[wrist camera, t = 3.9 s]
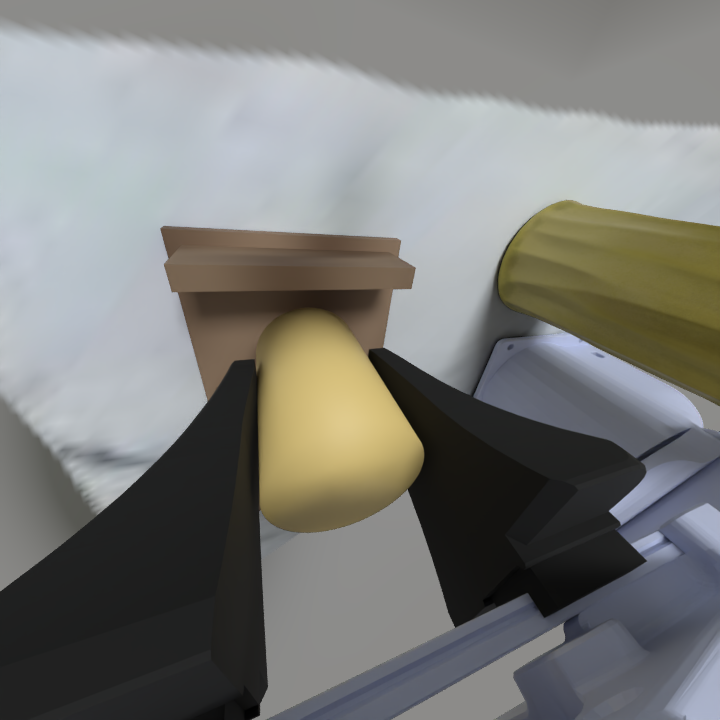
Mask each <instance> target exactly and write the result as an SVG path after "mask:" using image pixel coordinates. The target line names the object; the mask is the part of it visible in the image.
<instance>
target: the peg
mask: <svg viewBox="0 0 720 720" xmlns="http://www.w3.org/2000/svg"><path fill="white" fill-rule="evenodd" d="M256 372H257V411H258V449H259V488H260V508H261V511H262V514H263V515H264V517H265V518H266V519H267V520H268V521H269V522H270V523H271V524H273V525H274V526H276V527H278V528H281V529H283V530H287V531H292V532H301V533H304V532H305V533H311V532H322V531H328V530H333V529H337V528H341V527H345V526H348V525H351V524H353V523H356V522H359V521H361V520H363V519H365V518H368V517H369V516H372V515H373V514H375V513H377V512H379V511H380V510H382V509H384V508H385V507H387V506H388V505H390V504H391V503H393V502H394V501H395V500H396V499H398V498H399V497H400V496H401V495H402V494H403V493H404V492H405V491H406V490H407V489H408V488H409V487H410V486H411V485H412V483H413V482H414V481H415V479H416V478H417V476H418V474H419V473H420V470H421V468H422V465H423V462H424V448H423V446H422V443H421V441H420V440H419V438H418V437H417V435H416V433H415V432H414V430H413V429H412V427H411V425H410V424H409V422H408V421H407V419H406V417H405V416H404V414H403V413H402V411H401V410H400V408H399V406H398V405H397V403H396V402H395V400H394V398H393V397H392V395H391V394H390V392H389V390H388V389H387V387H386V386H385V384H384V382H383V381H382V379H381V378H380V376H379V374H378V373H377V371H376V370H375V368H374V366H373V365H372V363H371V362H370V360H369V358H368V357H367V355H366V354H365V352H364V350H363V349H362V347H361V346H360V344H359V342H358V341H357V339H356V338H355V336H354V334H353V333H352V331H351V330H350V328H349V327H348V325H347V324H346V323H345V322H344V320H342V319H341V318H340V317H339V316H337V315H336V314H334V313H332V312H330V311H327V310H324V309H319V308H300V309H295V310H292V311H289V312H286V313H284V314H282V315H280V316H279V317H277V318H276V319H274V320H273V321H272V322H271V323H270V324H269V325H268V326H267V327H266V328H265V329H264V331H263V332H262V334H261V336H260V338H259V340H258V343H257V348H256Z"/></svg>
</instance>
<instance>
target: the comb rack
mask: <svg viewBox="0 0 720 720" xmlns="http://www.w3.org/2000/svg"><path fill="white" fill-rule="evenodd" d="M160 229H161V233H162V236H163V240H164V244H165V247H166V251H167V254H168V258H169V259H168V260H167V261H166V263H165V264H164V267H165V270H166V273H167V277H168V280H169V284H170V287H171V291H172V292H178V294H179V298H180V302H181V305H182V309H183V312H184V316H185V320H186V323H187V327H188V330H189V334H190V338H191V341H192V345H193V349H194V352H195V356H196V359H197V363H198V367H199V370H200V374H201V378H202V381H203V385H204V388H205V392H206V396H207V399H208V401H209V399H210V398H211V396H212V395H213V393H214V392H215V390H216V389H217V388H218V386H219V384H220V383H221V381H222V380H223V378H224V376H225V375H226V373H227V371H228V369H229V367H230V366H231V364H232V363H233V362H234V361H237V360H248V359H255V366H256V348H257V343H258V340H259V338H260V336H261V334H262V332H263V331H264V329H265V328H266V327H267V326H268V325H269V324H270V323H271V322H272V321H273V320H274V319H276V318H277V317H279V316H280V315H282V314H284V313H286V312H289V311H292V310H295V309H300V308H319V309H324V310H327V311H330V312H332V313H334V314H336V315H337V316H339V317H340V318H341V319H342V320H344V322H345V323H346V324H347V325H348V327H349V328H350V330H351V331H352V333H353V334H354V336H355V338H356V339H357V341H358V342H359V344H360V346H361V347H362V349H363V350H364V352H365V354H366V355H367V357H368V353H369V349H376V348H383V344H384V338H385V332H386V327H387V321H388V315H389V309H390V303H391V297H392V291H393V289H411V288H412V283H413V279H414V274H415V269H416V268H415V267H413V266H412V265H410V264H408V263H407V262H405V261H403V260H401V259H400V258H398V256H399V250H400V244H401V240H399V239H397V238H381V237H362V236H343V235H324V234H305V233H286V232H267V231H248V230H229V229H210V228H190V227H171V226H163V227H162V228H160ZM256 374H257V372H256ZM260 510H261V508H260V488H259V511H260Z"/></svg>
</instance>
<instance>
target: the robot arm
mask: <svg viewBox="0 0 720 720" xmlns="http://www.w3.org/2000/svg"><path fill="white" fill-rule="evenodd" d="M368 358H369V360H370V362H371V363H372V365H373V366H374V368H375V370H376V371H377V373H378V374H379V376H380V378H381V379H382V381H383V382H384V384H385V386H386V387H387V389H388V390H389V392H390V394H391V395H392V397H393V398H394V400H395V402H396V403H397V405H398V406H399V408H400V410H401V411H402V413H403V414H404V416H405V417H406V419H407V421H408V422H409V424H410V425H411V427H412V429H413V430H414V432H415V433H416V435H417V437H418V438H419V440H420V441H421V443H422V446H423V448H424V462H423V465H422V468H421V470H420V473H419V474H418V476H417V478H416V479H415V481H414V482H413V483H412V485H411V486H410V487H409V488H408V492H409V494H410V497H411V499H412V502H413V505H414V508H415V510H416V513H417V516H418V518H419V521H420V524H421V527H422V529H423V533H424V536H425V538H426V541H427V545H428V547H429V550H430V553H431V556H432V559H433V563H434V566H435V569H436V572H437V576H438V578H439V582H440V585H441V588H442V592H443V595H444V599H445V602H446V606H447V609H448V613H449V615H450V617H451V619H452V622H453V624H454V626H455V628H454V629H452V630H450V631H448V632H446V633H444V634H442V635H440V636H438V637H436V638H434V639H432V640H429V641H427V642H425V643H423V644H421V645H419V646H417V647H415V648H413V649H411V650H409V651H407V652H405V653H403V654H401V655H399V656H396V657H395V658H392V659H390V660H388V661H386V662H384V663H382V664H380V665H378V666H376V667H374V668H372V669H370V670H368V671H365V672H363V673H361V674H360V675H357V676H355V677H353V678H351V679H349V680H347V681H345V682H343V683H341V684H339V685H337V686H335V687H332V688H330V689H328V690H326V691H325V692H322V693H320V694H318V695H316V696H314V697H312V698H310V699H308V700H306V701H304V702H302V703H300V704H297V705H296V706H293V707H291V708H289V709H287V710H285V711H283V712H281V713H279V714H277V715H275V716H273V717H271V718H269V719H267V720H391V719H393V718H395V717H397V716H398V715H400V714H402V713H404V712H405V711H407V710H409V709H411V708H412V707H414V706H416V705H418V704H420V703H422V702H423V701H425V700H427V699H429V698H430V697H432V696H434V695H436V694H438V693H439V692H441V691H443V690H445V689H446V688H448V687H450V686H452V685H453V684H455V683H457V682H459V681H461V680H462V679H464V678H466V677H468V676H470V675H471V674H473V673H475V672H477V671H478V670H480V669H482V668H484V667H486V666H487V665H489V664H491V663H493V662H494V661H496V660H498V659H500V658H502V657H503V656H505V655H507V654H509V653H510V652H512V651H514V650H516V649H518V648H519V647H521V646H523V645H525V644H526V643H528V642H530V641H532V640H534V639H535V638H537V637H539V636H541V635H542V634H544V633H545V632H547V631H550V630H551V629H553V628H555V627H557V626H558V625H560V624H562V623H564V622H565V623H564V633H565V642H564V643H562V644H560V645H559V646H557V647H555V648H553V649H551V650H549V651H548V652H546V653H544V654H543V655H540V656H539V657H537V658H535V659H533V660H532V661H530V662H529V663H527V664H525V665H524V666H522V667H521V668H519V669H518V670H516V671H515V672H514V677H513V678H514V680H515V682H516V683H517V686H518V687H519V689H520V691H521V693H522V695H523V697H524V699H525V701H524V702H523V703H521V704H519V705H518V706H516V707H514V708H513V709H511V710H509V711H508V712H506V713H505V714H503V715H501V716H499V717H498V718H496V719H494V720H720V431H719V432H717V431H715V430H710V429H705V428H703V422H702V419H701V416H700V414H699V413H698V411H697V409H696V408H695V406H694V405H693V404H692V402H690V401H689V399H688V398H687V397H685V396H684V395H683V394H682V393H680V392H679V391H678V390H676V389H675V388H673V387H671V386H669V385H667V384H665V383H663V382H661V381H659V380H657V379H656V378H654V377H652V376H650V375H648V374H646V373H644V372H642V371H640V370H638V369H636V368H634V367H632V366H630V365H628V364H626V363H624V362H622V361H620V360H619V359H617V358H615V357H613V356H611V355H609V354H607V353H605V352H603V351H601V350H599V349H597V348H595V347H593V346H591V345H590V344H588V343H587V342H585V341H583V340H581V339H579V338H577V337H575V336H573V335H571V334H570V333H561V334H550V335H539V336H528V337H517V338H506V339H501V340H500V341H498V342H497V344H496V345H495V348H494V350H493V352H492V355H491V357H490V359H489V361H488V364H487V366H486V368H485V371H484V373H483V375H482V378H481V380H480V382H479V385H478V387H477V389H476V392H475V394H474V396H473V397H472V396H469V395H467V394H465V393H463V392H461V391H459V390H457V389H455V388H453V387H451V386H449V385H447V384H445V383H443V382H441V381H440V380H438V379H436V378H434V377H433V376H431V375H429V374H427V373H426V372H424V371H422V370H421V369H419V368H417V367H416V366H414V365H412V364H411V363H409V362H408V361H406V360H404V359H403V358H401V357H399V356H398V355H396V354H394V353H393V352H391V351H389V350H387V349H385V348H376V349H369V353H368ZM263 611H264V610H263V590H262V569H261V547H260V523H259V449H258V411H257V374H256V366H255V359H248V360H237V361H234V362H233V363H232V364H231V366H230V367H229V369H228V371H227V373H226V375H225V376H224V378H223V380H222V381H221V383H220V384H219V386H218V388H217V389H216V390H215V392H214V393H213V395H212V396H211V398H210V399H209V401H208V402H207V404H206V405H205V406H204V408H203V409H202V410H201V411H200V413H199V414H198V415H197V416H196V418H195V419H194V420H193V422H192V423H191V424H190V425H189V427H188V428H187V429H186V430H185V431H184V432H183V434H182V435H181V436H180V437H179V438H178V439H177V440H176V442H175V443H174V444H173V445H172V446H171V447H170V448H169V449H168V450H167V451H166V452H165V453H164V454H163V455H162V456H161V458H160V459H159V460H158V461H157V462H155V463H154V464H153V465H152V466H151V467H150V468H149V469H148V470H147V471H146V472H145V473H144V474H143V475H142V476H141V477H140V478H139V479H138V480H137V481H136V482H135V483H134V484H133V485H132V486H131V487H129V488H128V489H127V490H126V491H125V492H124V493H123V494H122V495H121V496H120V497H118V498H117V499H116V500H115V501H114V502H113V503H111V504H110V505H109V506H108V507H107V508H106V509H104V510H103V511H102V512H101V513H100V514H98V515H97V516H96V517H95V518H94V519H93V520H91V521H90V522H89V523H88V524H87V525H85V526H84V527H83V528H82V529H80V530H79V531H78V532H77V533H76V534H75V535H73V536H72V537H71V538H70V539H68V540H67V541H66V542H64V543H63V544H62V545H61V546H60V547H58V548H57V549H56V550H54V551H53V552H52V553H51V554H49V555H48V556H47V557H45V558H44V559H43V560H41V561H40V562H39V563H38V564H36V565H35V566H33V567H32V568H31V569H30V570H28V571H27V572H26V573H24V574H23V575H22V576H20V577H19V578H18V579H16V580H15V581H14V582H12V583H11V584H10V585H8V586H7V587H6V588H4V589H3V590H2V591H0V720H251V719H253V718H255V717H258V716H260V703H261V701H262V699H263V697H264V695H265V692H266V690H267V688H268V680H267V663H266V646H265V628H264V612H263Z"/></svg>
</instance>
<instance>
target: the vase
mask: <svg viewBox="0 0 720 720" xmlns="http://www.w3.org/2000/svg"><path fill="white" fill-rule="evenodd" d="M498 290H499V295H500V298H501V300H502V301H503V303H504V304H505V305H506V306H507V307H509V308H510V309H512V310H514V311H516V312H520V313H523V314H526V315H529V316H532V317H534V318H537V319H539V320H542V321H544V322H546V323H548V324H550V325H552V326H555V327H557V328H559V329H561V330H563V331H566V332H568V333H570V334H571V335H573V336H575V337H577V338H579V339H581V340H583V341H585V342H587V343H588V344H590V345H592V346H594V347H596V348H598V349H600V350H602V351H605V352H607V353H609V354H611V355H613V356H615V357H617V358H619V359H621V360H624V361H626V362H628V363H630V364H632V365H634V366H636V367H638V368H640V369H642V370H644V371H646V372H649V373H651V374H653V375H655V376H657V377H659V378H661V379H664V380H666V381H668V382H670V383H672V384H674V385H676V386H679V387H681V388H683V389H685V390H687V391H690V392H692V393H694V394H696V395H698V396H701V397H703V398H705V399H707V400H709V401H711V402H713V403H715V404H717V405H718V406H720V226H713V225H706V224H700V223H693V222H685V221H678V220H671V219H665V218H658V217H653V216H647V215H642V214H636V213H630V212H624V211H617V210H610V209H602V208H597V207H592V206H587V205H582V204H581V203H578V202H576V201H573V200H565V201H560V202H557V203H555V204H552V205H550V206H548V207H546V208H545V209H543V210H541V211H540V212H538V213H537V214H536V215H534V216H533V217H532V218H531V219H530V220H529V221H528V222H527V223H526V224H525V225H524V226H523V227H522V228H521V229H520V231H519V232H518V233H517V235H516V236H515V237H514V239H513V241H512V242H511V244H510V245H509V247H508V249H507V251H506V253H505V255H504V258H503V261H502V263H501V267H500V270H499V275H498Z"/></svg>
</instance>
